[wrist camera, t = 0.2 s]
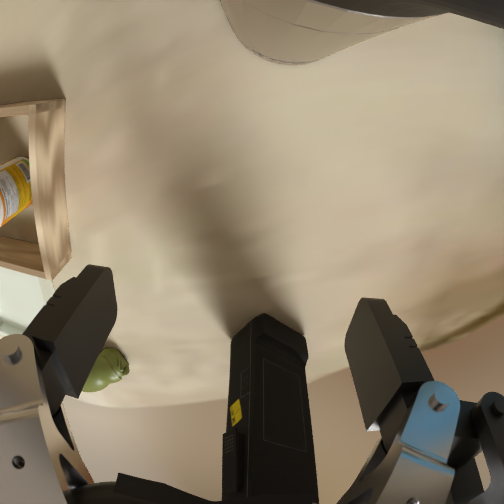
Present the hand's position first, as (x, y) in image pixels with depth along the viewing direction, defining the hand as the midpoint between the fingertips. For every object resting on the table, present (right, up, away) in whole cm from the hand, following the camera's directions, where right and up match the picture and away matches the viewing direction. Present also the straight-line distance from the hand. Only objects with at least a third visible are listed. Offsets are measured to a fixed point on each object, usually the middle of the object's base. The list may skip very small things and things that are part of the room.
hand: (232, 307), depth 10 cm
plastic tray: (-31, -5, +23) cm, 39 cm away
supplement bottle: (-23, +9, +15) cm, 29 cm away
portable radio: (+2, -8, +25) cm, 26 cm away
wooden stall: (-24, +9, +15) cm, 30 cm away
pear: (-20, -13, +28) cm, 37 cm away
